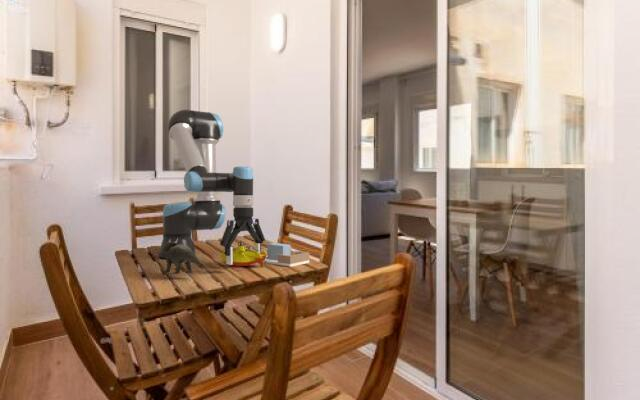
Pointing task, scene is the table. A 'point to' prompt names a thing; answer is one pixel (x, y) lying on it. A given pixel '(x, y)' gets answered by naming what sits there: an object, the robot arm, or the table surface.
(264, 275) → the table surface
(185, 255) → the dinosaur figurine
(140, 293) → the table surface
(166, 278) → the table surface
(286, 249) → the block
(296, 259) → the jig
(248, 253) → the toy boat
